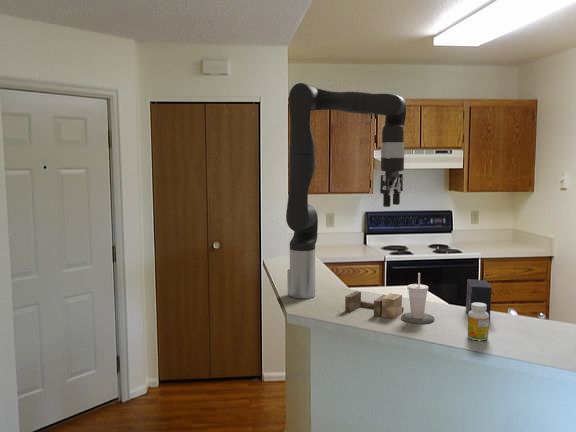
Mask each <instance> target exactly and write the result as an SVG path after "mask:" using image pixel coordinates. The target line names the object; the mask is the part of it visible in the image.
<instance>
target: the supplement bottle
mask: <svg viewBox="0 0 576 432" xmlns="http://www.w3.org/2000/svg"><path fill="white" fill-rule="evenodd" d="M471 309H472V310H471V311H470V312H469V313H468V314H467V318H468V319H467V338H468V339H469V338H470V339H469V340H471V339H472V341H474V340H486V339H487V340H489V323H490V322H489V321H490V320H489V314H488V313H487V312H486V309H487V305H486V304H484V303H478V302H476V303H472V304H471ZM487 340H486V341H487Z"/></svg>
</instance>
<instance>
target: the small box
mask: <svg viewBox="0 0 576 432" xmlns="http://www.w3.org/2000/svg"><path fill="white" fill-rule="evenodd" d="M466 283H467V284H466V300H465V301H466V302H465V303H466V304H465V311H466V313H467V315H468V313H469V312H470V311H471V310H472V309H471V304H472V303H476V302H478V303H484V304H486V305H487V309H486V312H487V313H488V314H489V321H490V320H491V306H492V286H491V285H490V283H489V282H488V281H487V280H485V279H484V280H483V279H470V278H468V279H466Z"/></svg>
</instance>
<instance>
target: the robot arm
mask: <svg viewBox="0 0 576 432" xmlns="http://www.w3.org/2000/svg"><path fill="white" fill-rule="evenodd" d="M288 107H289V108H288V109H289V121H290V122H289V125H290V126H289V128H290V131H289V157H288V158H289V159H288V161H289V162H288V164H289V166H288V168H289V170H288V174H289V175H288V196H287V197H288V198H287V203H286V204H287V205H286V214H285V220H286V224H287V226H288V228H289V229H290V230H292V232H293V235H292V238H291V240H290V241H289V269H288V270H287V273H286V274H287V296H289V297H291V298H295V299H311V298H314V297H315V296H316V244H317V241H318V231H319V227H318V226H319V224H318V223H319V219H318V217H319V216H318V211H317V210H316V209H315V207H314V206H313V205H311V204H308V203H309V201H308V199H309V190H310V186H311V183H312V179H313V177H314V175H315V174H314V173H315V171H316V170H315V169H316V154H317V152H316V144H315V140H314V136H313V133H312V128H311V114H312V113H311V112H312V111H313V112H314V111H330V110H331V111H339V112H346V113H352V114H360V115H361V114H362V115H373V114H374V115H380V116H384V117H385V118H384V126H383V127H382V130H381V148H380V171H381V172H385V173H384V174H381V175H380V188H379V191H380V194H381V195H382V196H383V200H382V202H383V203H382V204H383V205H382V206H383V208H390V207H391V196H392V205H395V206H396V205H397V206H399V205H400V201H401V200H400V199H401V193H402V192H403V190H404V188H403V187H404V186H403V185H404V182H403V181H404V177H403V176H404V175H403V173H400V172H403V171H404V170H405V140H404V139H405V138H404V137H405V131H404V129H405V123H406V118H407V117H406V115H407V103H406V100H405V99H404V98H403V97H401V96H399V95H397V94H394V93H372V92H365V91H364V92H363V91H331V90H325V89H321V88H319V87H318V88H317V87H315V86H313V85H311V84H307V83H303V82H298V83H296V84H294V85H293V86H291V89H290V91H289V94H288Z"/></svg>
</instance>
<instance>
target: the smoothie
mask: <svg viewBox="0 0 576 432" xmlns="http://www.w3.org/2000/svg"><path fill="white" fill-rule="evenodd" d="M417 275H418V276H417V280H418V281H417V282H418V283H412V284H408V285H407V290H408V298H409V307H410V313H411V317H413V318H418V319H420V318H423V317H424V313H425V309H426V302H427V295H428V291H429V286H428V285H426V284H421V273H420V272H418V273H417Z"/></svg>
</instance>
